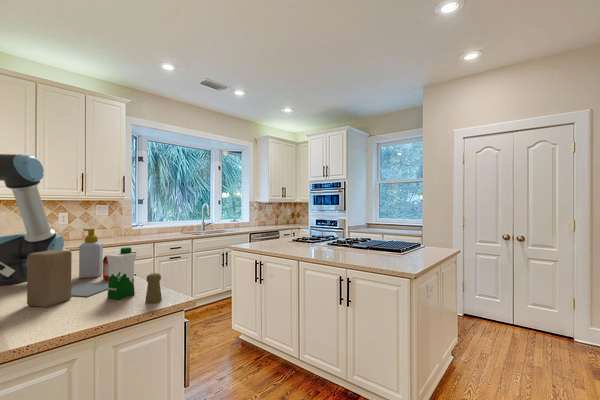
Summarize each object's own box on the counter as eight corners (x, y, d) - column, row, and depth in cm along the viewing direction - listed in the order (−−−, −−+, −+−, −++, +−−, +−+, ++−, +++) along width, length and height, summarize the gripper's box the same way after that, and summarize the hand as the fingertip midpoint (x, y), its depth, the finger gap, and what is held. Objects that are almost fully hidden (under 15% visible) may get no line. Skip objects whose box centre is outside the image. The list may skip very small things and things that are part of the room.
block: (46, 308, 109) (47, 254, 109) (25, 306, 111) (26, 253, 111) (72, 299, 119) (72, 250, 119) (52, 297, 121) (53, 249, 121)
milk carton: (138, 294, 125) (138, 248, 125) (118, 301, 117) (119, 251, 117) (123, 292, 128) (123, 246, 128) (103, 298, 120) (103, 250, 120)
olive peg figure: (145, 304, 113) (145, 276, 113) (145, 299, 119) (145, 272, 119) (162, 302, 116) (162, 274, 116) (161, 297, 121) (161, 271, 121)
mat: (86, 283, 142) (86, 282, 142) (119, 284, 139) (119, 283, 139) (50, 294, 124) (50, 293, 124) (87, 297, 121) (87, 295, 121)
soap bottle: (83, 274, 157) (83, 228, 157) (102, 273, 161) (103, 227, 161) (78, 279, 149) (78, 230, 149) (99, 277, 153) (99, 229, 153)
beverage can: (120, 277, 153) (120, 254, 153) (111, 280, 147) (111, 256, 147) (109, 277, 153) (109, 254, 153) (99, 280, 147) (100, 256, 147)
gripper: (-80, 239, 91) (-6, 280, 106) (-71, 242, 85) (7, 285, 99) (-54, 221, 96) (14, 262, 110) (-43, 223, 90) (27, 267, 104)
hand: (10, 273), depth 105 cm, fingers closed
